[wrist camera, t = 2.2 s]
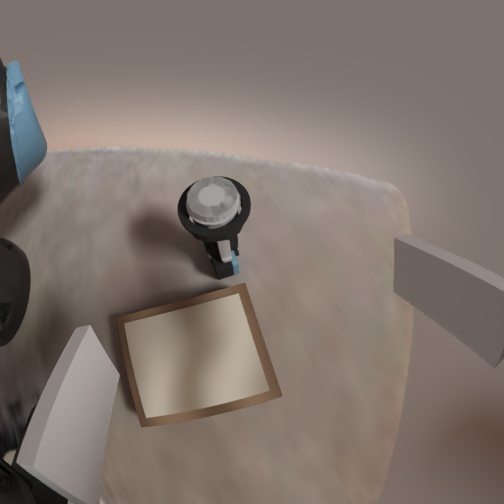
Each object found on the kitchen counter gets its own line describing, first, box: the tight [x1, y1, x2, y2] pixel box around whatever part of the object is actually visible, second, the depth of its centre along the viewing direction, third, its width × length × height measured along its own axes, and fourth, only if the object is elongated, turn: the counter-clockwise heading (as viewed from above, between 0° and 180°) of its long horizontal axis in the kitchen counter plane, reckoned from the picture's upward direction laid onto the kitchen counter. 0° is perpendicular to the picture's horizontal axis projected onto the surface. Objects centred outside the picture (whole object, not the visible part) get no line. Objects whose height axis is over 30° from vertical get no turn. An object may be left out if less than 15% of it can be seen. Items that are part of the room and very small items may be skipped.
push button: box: [178, 176, 251, 280], centre depth 23 cm, size 7×5×10 cm
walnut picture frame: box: [116, 283, 282, 427], centre depth 21 cm, size 12×10×3 cm
